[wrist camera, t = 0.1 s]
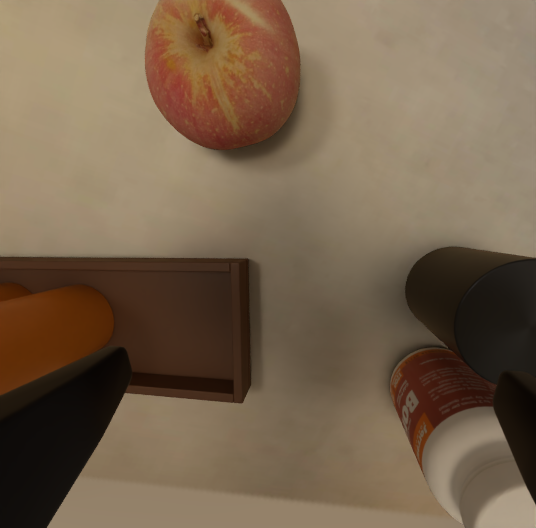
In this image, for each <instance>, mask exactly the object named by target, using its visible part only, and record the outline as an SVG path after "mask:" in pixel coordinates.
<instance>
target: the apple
mask: <svg viewBox="0 0 536 528" xmlns="http://www.w3.org/2000/svg"><path fill="white" fill-rule="evenodd" d="M145 69H146V76H147V81H148V85H149V89H150V92H151V95H152V97H153V100H154V102H155V104H156V105H157V107H158V109H159V110H160V112H161V113H162V114H163V116H164V117H165V118H166V120H167V121H168V122H169V123H170V124H171V125H172V126H173V127H174V128H175V129H176V130H177V131H178V132H179V133H181V134H182V135H183V136H185V137H186V138H188V139H189V140H191V141H192V142H194V143H196V144H199V145H201V146H203V147H206V148H211V149H217V150H229V149H235V148H240V147H244V146H248V145H252V144H255V143H259V142H261V141H263V140H265V139H267V138H269V137H271V136H272V135H273V134H275V133H276V132H277V131H278V130H279V129H280V128H281V127H282V126H283V125H284V123H285V122H286V121H287V119H288V118H289V116H290V114H291V112H292V111H293V108H294V106H295V103H296V100H297V96H298V91H299V85H300V54H299V47H298V43H297V39H296V35H295V31H294V28H293V25H292V22H291V19H290V17H289V14H288V12H287V10H286V8H285V6H284V5H283V3H282V1H281V0H159V2H158V4H157V6H156V8H155V11H154V13H153V15H152V18H151V21H150V24H149V27H148V32H147V40H146V49H145Z"/></svg>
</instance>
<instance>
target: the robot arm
mask: <svg viewBox="0 0 536 528" xmlns="http://www.w3.org/2000/svg"><path fill="white" fill-rule="evenodd" d="M131 379H132V368H131V364H130V360H129V356H128V353H127V350H126V349H125V348H124V347H122V346H108V347H105V348H103V349H101V350H99V351H97V352H94V353H92V354H90V355H88V356H86V357H83V358H81V359H79V360H77V361H75V362H72V363H70V364H68V365H66V366H64V367H62V368H59V369H57V370H55V371H53V372H51V373H48V374H46V375H44V376H42V377H40V378H38V379H35V380H33V381H31V382H29V383H27V384H24V385H22V386H20V387H18V388H16V389H13V390H11V391H9V392H7V393H5V394H3V395H0V528H47V526H48V525H49V523H50V521H51V520H52V518H53V516H54V515H55V513H56V512H57V510H58V508H59V507H60V505H61V504H62V502H63V500H64V499H65V497H66V495H67V494H68V492H69V491H70V489H71V487H72V485H73V484H74V482H75V481H76V479H77V478H78V476H79V474H80V473H81V471H82V469H83V468H84V466H85V465H86V463H87V461H88V460H89V458H90V456H91V455H92V453H93V452H94V450H95V448H96V447H97V445H98V443H99V442H100V440H101V438H102V437H103V435H104V433H105V431H106V429H107V427H108V425H109V423H110V421H111V419H112V417H113V415H114V413H115V411H116V409H117V407H118V405H119V403H120V401H121V399H122V397H123V395H124V393H125V391H126V389H127V388H128V386H129V384H130V381H131ZM493 409H494V412H495V414H496V417H497V419H498V421H499V424H500V426H501V428H502V431H503V433H504V436H505V438H506V440H507V443H508V445H509V447H510V450H511V452H512V455H513V457H514V459H515V462H516V464H517V467H518V469H519V471H520V474H521V476H522V478H523V480H524V482H525V485H526V487H527V489H528V491H529V493H530V495H531V497H532V499H533V501H534V503H535V505H536V377H534V376H532V375H531V374H529V373H527V372H523V371H508V370H505V371H503V372H501V373H500V375H499V378H498V382H497V385H496V389H495V393H494V396H493Z"/></svg>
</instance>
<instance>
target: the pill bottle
mask: <svg viewBox="0 0 536 528" xmlns="http://www.w3.org/2000/svg"><path fill="white" fill-rule="evenodd" d="M495 389H496V385H495V384H493V383H490V382H489V381H487V380H485V379H483V378H482V377H480V376H479V375H478V374H476V373H475V372H474V371H473V370H472V369H471V368H470V367H469V366H468V365H467V364H466V363H464V362H463V361H462V360H461V359H460V358H459V357H458V356H457V355H456V354H455V353H454V352H453V351H451V350H448V349H444V348H436V347H435V348H424V349H420V350H417V351H415V352H412V353H411V354H409V355H407V356H406V357H405V358H403V359H402V360H401V361H400V362H399V363H398V365H397V366H396V368H395V369H394V371H393V374H392V376H391V381H390V393H391V397H392V400H393V403H394V406H395V408H396V410H397V413H398V415H399V418H400V420H401V422H402V425H403V427H404V430H405V432H406V434H407V437H408V439H409V442H410V444H411V446H412V449H413V451H414V453H415V456H416V458H417V460H418V463H419V465H420V467H421V470H422V472H423V475H424V477H425V479H426V481H427V483H428V485H429V488H430V490H431V491H432V493H433V495H434V497H435V498H436V500H437V501H438V502H439V504H440V505H441V506H442V507H443V508H444V509H445V510H446V511H447V512H448V513H449V514H450V515H451V516H452V517H453V518H454V519H455V520H457V521H458V522H460V523H461V524H462V525H464V526H465V528H536V505H535V503H534V501H533V499H532V497H531V495H530V493H529V491H528V489H527V487H526V485H525V482H524V480H523V478H522V476H521V474H520V471H519V469H518V467H517V464H516V462H515V459H514V457H513V455H512V452H511V450H510V447H509V445H508V443H507V440H506V438H505V436H504V433H503V431H502V428H501V426H500V424H499V421H498V419H497V417H496V414H495V412H494V409H493V396H494V393H495Z"/></svg>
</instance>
